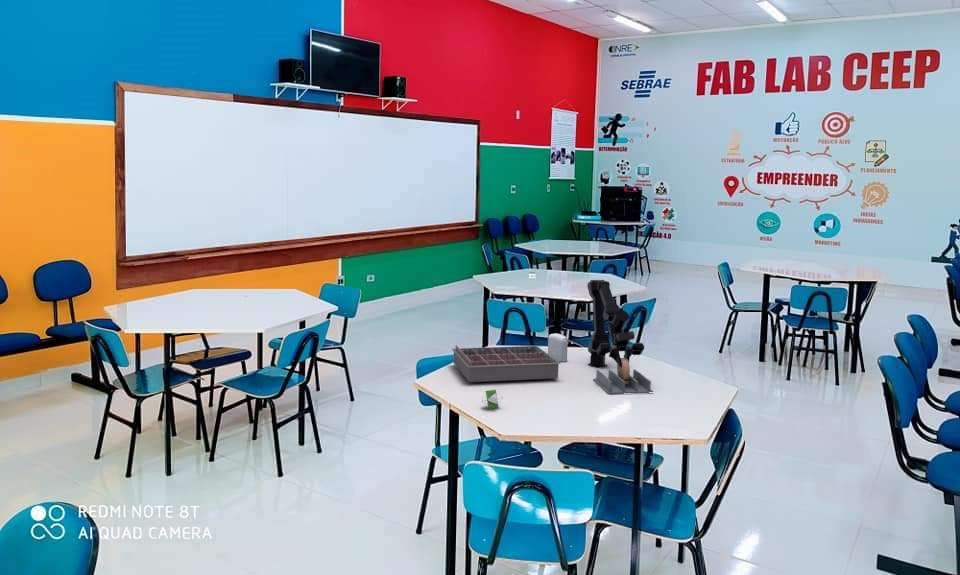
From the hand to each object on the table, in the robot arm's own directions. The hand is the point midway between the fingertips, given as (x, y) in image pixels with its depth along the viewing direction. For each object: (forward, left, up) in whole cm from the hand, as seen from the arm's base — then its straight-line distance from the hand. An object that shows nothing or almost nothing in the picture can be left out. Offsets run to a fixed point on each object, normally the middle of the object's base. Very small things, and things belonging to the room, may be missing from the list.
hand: (624, 367), depth 309 cm
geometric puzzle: (+61, -11, -9) cm, 63 cm away
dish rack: (-1, -1, -9) cm, 9 cm away
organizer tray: (+26, -45, -9) cm, 53 cm away
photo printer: (-10, -49, -9) cm, 50 cm away
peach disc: (-1, -1, -7) cm, 7 cm away
